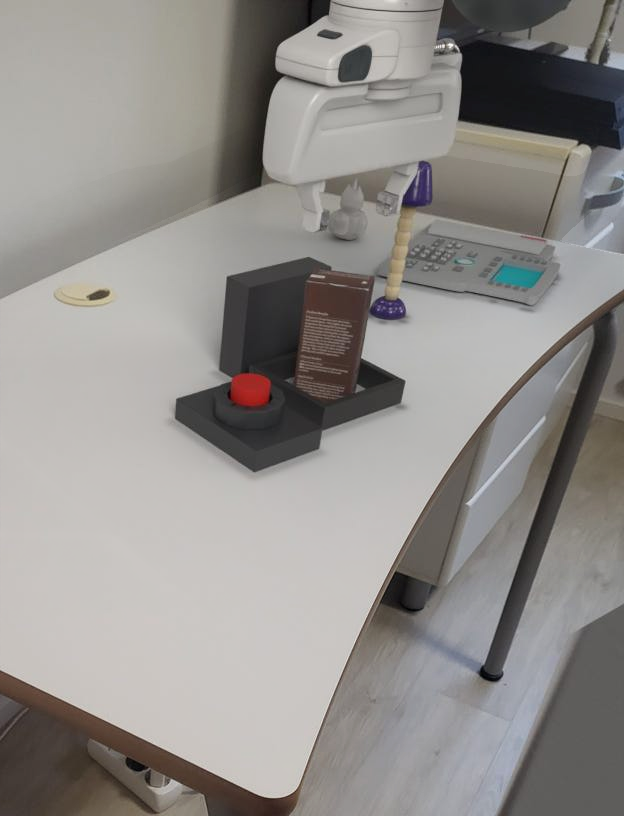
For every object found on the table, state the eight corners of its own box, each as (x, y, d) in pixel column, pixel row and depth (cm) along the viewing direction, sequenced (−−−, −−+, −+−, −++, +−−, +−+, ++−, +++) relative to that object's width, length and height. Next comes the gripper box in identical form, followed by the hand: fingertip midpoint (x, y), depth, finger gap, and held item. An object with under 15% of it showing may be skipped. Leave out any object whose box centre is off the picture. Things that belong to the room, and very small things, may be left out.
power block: (319, 449, 91) (325, 410, 88) (254, 473, 87) (258, 433, 84) (238, 399, 98) (241, 361, 95) (174, 419, 94) (176, 380, 92)
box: (356, 391, 100) (377, 274, 92) (347, 410, 97) (369, 290, 89) (298, 381, 102) (315, 265, 94) (289, 399, 98) (305, 280, 90)
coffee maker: (401, 403, 98) (422, 306, 92) (320, 431, 93) (337, 331, 87) (296, 347, 108) (308, 256, 101) (218, 370, 103) (226, 276, 96)
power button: (276, 402, 90) (279, 384, 89) (246, 411, 88) (248, 394, 87) (251, 387, 92) (253, 370, 91) (222, 396, 90) (223, 378, 89)
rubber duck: (371, 237, 137) (382, 176, 132) (353, 250, 133) (363, 188, 128) (336, 229, 139) (345, 169, 134) (317, 241, 135) (325, 180, 130)
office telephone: (434, 211, 139) (577, 237, 132) (430, 230, 141) (571, 257, 134) (380, 255, 124) (539, 288, 116) (376, 276, 125) (532, 310, 118)
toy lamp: (365, 304, 118) (392, 156, 107) (403, 304, 118) (433, 157, 108) (374, 319, 115) (402, 168, 104) (412, 320, 115) (445, 169, 104)
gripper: (436, 30, 86) (405, 195, 95) (260, 49, 76) (243, 230, 85) (493, 42, 82) (455, 213, 91) (314, 63, 73) (291, 251, 82)
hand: (351, 221), depth 88 cm, fingers open, 8 cm apart
